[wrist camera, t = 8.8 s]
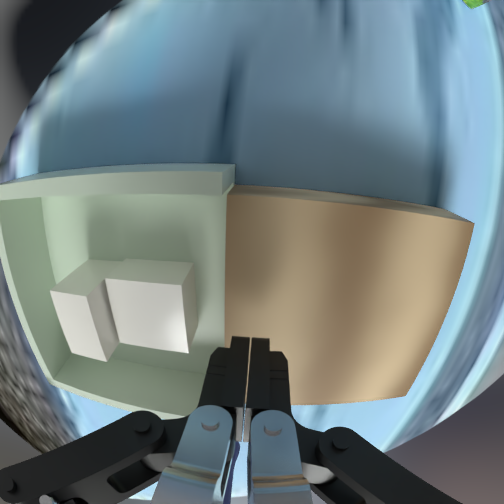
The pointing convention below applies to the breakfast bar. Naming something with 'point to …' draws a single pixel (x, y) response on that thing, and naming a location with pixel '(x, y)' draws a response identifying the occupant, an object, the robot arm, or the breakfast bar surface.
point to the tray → (118, 249)
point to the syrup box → (474, 3)
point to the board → (340, 286)
